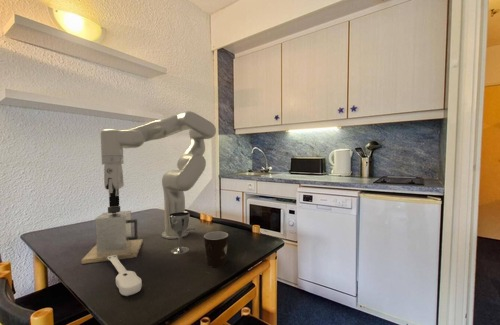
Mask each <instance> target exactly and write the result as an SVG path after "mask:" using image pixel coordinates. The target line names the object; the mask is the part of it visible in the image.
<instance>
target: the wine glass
mask: <svg viewBox="0 0 500 325" xmlns="http://www.w3.org/2000/svg"><path fill="white" fill-rule="evenodd" d="M190 216H191V215H190V212H189V211H185V212H174V213H171V214H169V222H170V227H171V229H172V230H173V231H174V232H175V233H176V234H177V236H178V238H177V239H178V247H175V248H172V249H171V251H170V253H172V255H173V254H174V255H183V254H185V253H187V252H189V251H190V248H189V247H186V246H182V238H183V237H182V235H183V233H184V232H185V230H186V229H187V228H188V226H189V225H190Z"/></svg>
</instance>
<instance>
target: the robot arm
mask: <svg viewBox="0 0 500 325" xmlns="http://www.w3.org/2000/svg"><path fill="white" fill-rule="evenodd" d="M186 130H189V132H188V133H189V134H188V135H189V138H190V142H189V143H190V144H189V145H188V147H187V148H186V150H185V151H184V152H183V154H181V156H180V157H179V158H178V160H177V163H176V167H177V168H178V169H171V170H168V171H166V172H165V173H164V174H163V175H162V178H161V186H162V191H163V197H164V198H163V201H164V207H163V208H164V231H163V232H162V233H161V237H162V238H163V239H167V240H170V239H171V240H174V239H178V236H177V234H176V233H175V232H174V231H173V230H172V229H171V227H170V222H169V214H171V213H174V212H186V198H185V193H184V192H187V191H189V190H191V189H192V188H193V187H194V186H195V184H196V183H197V181H198V180H199V178H200V177H201V176H202V174H203V173H204V171H205V170H206V166H207V161H206V159H205V156H204V154H205V151H206V144H205V140H210V139H212V138H213V137H214V136H216V133H217V129H216V126H215V124H214V123H213V122H211V121H210V120H208V119H206V118H205V117H204V116H202V115H199V114H197V112H193V111H184V112H180V113H176V114H172V115H169V116H167V117H163V118H159V119H156V120H154V121H150V122H149V123H146V124H143V125H140V126H137V127H133V128H130V129H123V130H120V129H115V128H114V129H113V128H106V129H102V130H101V131H100V151H101V156H100V157H101V165H104V168H103V172H104V173H103V174H104V175H103V182H104V189H105V190H108V191H107V192H108V200H109V201H108V202H109V203H108V204H109V205H108V207H114V206H120V189H121V188H123V187H124V186H125V185H124V174H123V173H124V172H123V164H124V149H137V148H139V147H142V146H143V145H144V143H147V142H150V141H155V140H162V139H165V138H167V137H170V136H172V135H175V134H178V133H180V132H183V131H186ZM124 165H125V164H124ZM192 230H196V225H192V224H189V225H188V228H187V229H186V230H185V232H184V233H183V235H182V237H181V238H184V237H187V236H188V235H189V233H190V231H192Z"/></svg>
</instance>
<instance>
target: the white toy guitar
mask: <svg viewBox="0 0 500 325" xmlns="http://www.w3.org/2000/svg"><path fill="white" fill-rule="evenodd" d="M115 256H116V257H115ZM107 259H108V260H110V263H111V264H112V266H114V268H115V270H116V271H117V272H118V274H117V275H116V276H115V285H116V287H117V288H118V290H119V293H120V294H121V295H122V296H125V297H129V296H133V295H135V294H137V293H138V292H140V291H141V289H142V287H143V286H142V284H143V283H142V281H143V280H142V278H141V277H139V276H138V275H137V273H136V272H135V271H134V270H133V271H132V270H127V268H126V267H125V266H124V265H123V264H122V263H121V261H120V259H118V258H117V255H111V256H109V257H107Z"/></svg>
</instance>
